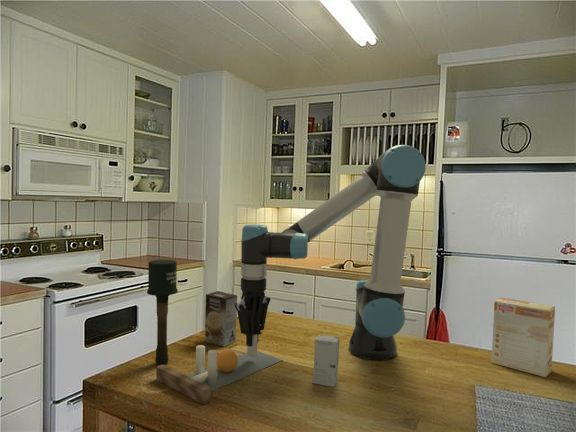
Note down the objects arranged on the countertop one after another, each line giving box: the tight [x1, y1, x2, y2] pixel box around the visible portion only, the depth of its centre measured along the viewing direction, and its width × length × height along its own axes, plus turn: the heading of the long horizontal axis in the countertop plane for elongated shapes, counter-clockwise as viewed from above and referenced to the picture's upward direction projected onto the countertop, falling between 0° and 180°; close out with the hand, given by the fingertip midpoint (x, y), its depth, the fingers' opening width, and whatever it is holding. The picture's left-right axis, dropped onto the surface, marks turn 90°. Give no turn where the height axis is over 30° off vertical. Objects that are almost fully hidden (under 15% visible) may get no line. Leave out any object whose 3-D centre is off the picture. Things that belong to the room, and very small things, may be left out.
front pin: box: [191, 371, 218, 383], centre depth 114 cm, size 2×2×8 cm
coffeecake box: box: [491, 297, 556, 378], centre depth 129 cm, size 15×7×20 cm, turn 47°
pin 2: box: [207, 349, 218, 385], centre depth 113 cm, size 2×2×8 cm
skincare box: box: [312, 334, 341, 388], centre depth 115 cm, size 6×4×12 cm
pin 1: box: [195, 344, 206, 375], centre depth 116 cm, size 2×2×8 cm
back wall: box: [155, 365, 212, 406], centre depth 109 cm, size 20×2×4 cm, turn 50°
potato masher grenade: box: [146, 259, 179, 366], centre depth 124 cm, size 8×9×30 cm
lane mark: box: [186, 350, 283, 392], centre depth 122 cm, size 12×29×1 cm, turn 140°
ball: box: [217, 349, 238, 372], centre depth 120 cm, size 6×6×6 cm
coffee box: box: [204, 290, 238, 347], centre depth 144 cm, size 9×6×16 cm
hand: (252, 355), depth 128 cm, fingers closed
